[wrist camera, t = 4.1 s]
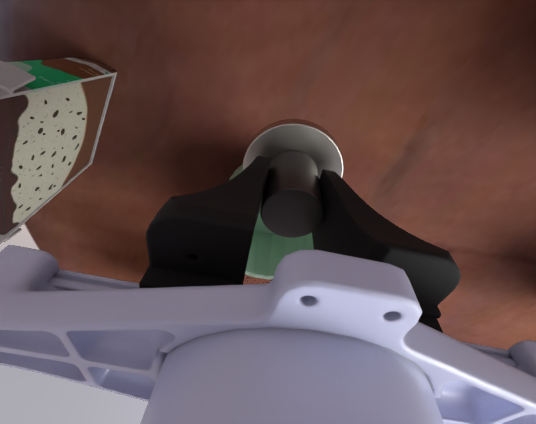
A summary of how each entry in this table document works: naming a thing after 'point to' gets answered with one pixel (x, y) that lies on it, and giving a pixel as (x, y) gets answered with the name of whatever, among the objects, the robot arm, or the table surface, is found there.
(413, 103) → the table surface
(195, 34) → the table surface
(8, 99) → the food container
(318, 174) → the lid
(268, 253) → the cup
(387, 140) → the table surface
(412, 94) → the table surface
